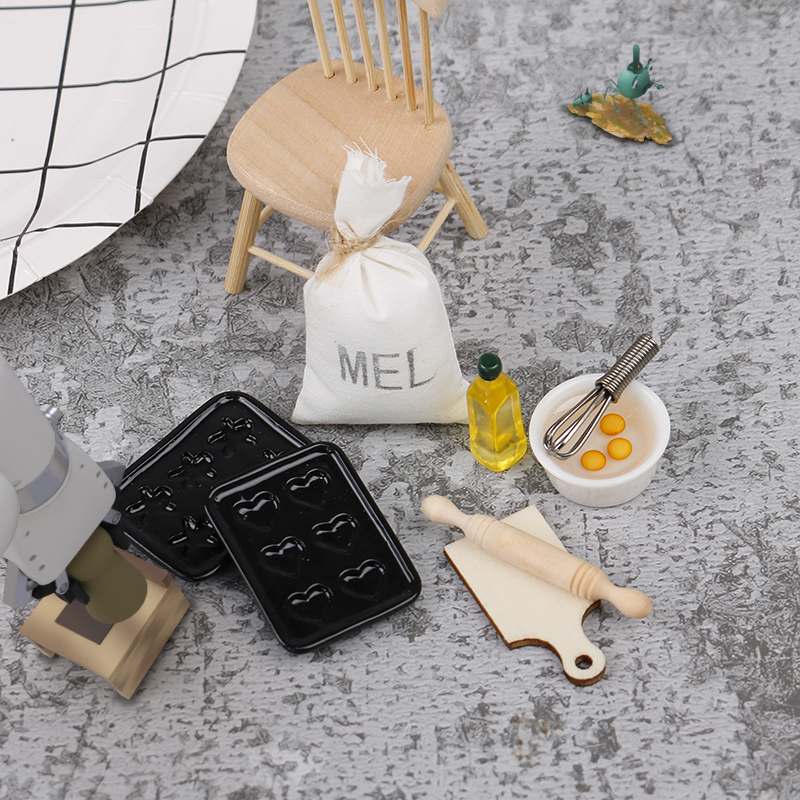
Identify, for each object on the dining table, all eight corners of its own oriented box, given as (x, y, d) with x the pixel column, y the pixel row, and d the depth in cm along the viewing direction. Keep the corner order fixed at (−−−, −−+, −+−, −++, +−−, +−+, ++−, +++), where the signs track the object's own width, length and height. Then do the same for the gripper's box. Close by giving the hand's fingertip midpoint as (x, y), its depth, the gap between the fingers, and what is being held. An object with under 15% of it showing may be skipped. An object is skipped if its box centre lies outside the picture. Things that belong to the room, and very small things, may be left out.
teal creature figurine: (591, 83, 155) (610, 5, 142) (684, 136, 149) (712, 59, 136) (556, 113, 151) (572, 35, 138) (650, 169, 145) (676, 92, 133)
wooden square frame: (129, 699, 102) (101, 672, 95) (43, 654, 106) (10, 624, 98) (190, 604, 108) (169, 571, 100) (107, 564, 111) (80, 529, 104)
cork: (131, 553, 93) (93, 499, 84) (158, 599, 90) (122, 548, 81) (75, 588, 91) (30, 536, 82) (101, 636, 88) (57, 588, 79)
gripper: (50, 366, 76) (120, 479, 91) (-102, 539, 68) (3, 632, 83) (123, 398, 74) (183, 509, 89) (-25, 581, 65) (68, 669, 80)
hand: (95, 567), depth 85 cm, fingers closed on cork, 5 cm apart
